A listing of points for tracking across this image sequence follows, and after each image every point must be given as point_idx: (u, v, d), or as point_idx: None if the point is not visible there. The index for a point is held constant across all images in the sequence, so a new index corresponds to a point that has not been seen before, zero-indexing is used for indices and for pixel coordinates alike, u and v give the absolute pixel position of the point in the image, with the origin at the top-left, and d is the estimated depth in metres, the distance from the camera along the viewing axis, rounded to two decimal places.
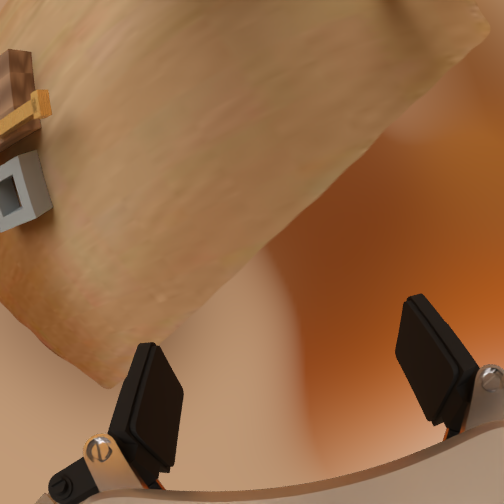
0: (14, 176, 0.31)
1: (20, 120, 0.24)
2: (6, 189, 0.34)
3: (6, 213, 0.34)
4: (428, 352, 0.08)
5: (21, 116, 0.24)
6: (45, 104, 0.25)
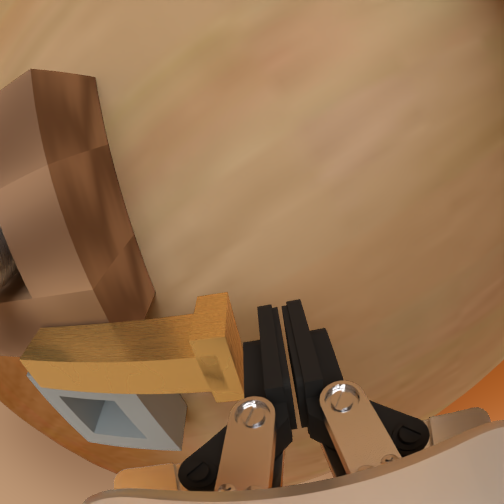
0: (120, 404, 0.17)
1: (151, 391, 0.10)
2: None
3: (95, 422, 0.20)
4: (290, 358, 0.09)
5: (152, 385, 0.10)
6: (238, 351, 0.11)
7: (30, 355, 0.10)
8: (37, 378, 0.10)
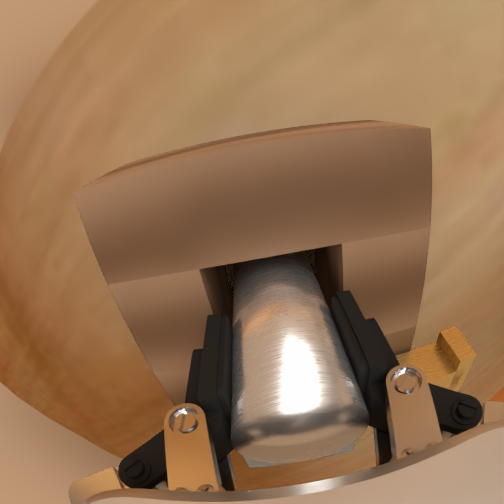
0: None
1: None
2: None
3: None
4: (347, 347, 0.09)
5: None
6: None
7: None
8: None
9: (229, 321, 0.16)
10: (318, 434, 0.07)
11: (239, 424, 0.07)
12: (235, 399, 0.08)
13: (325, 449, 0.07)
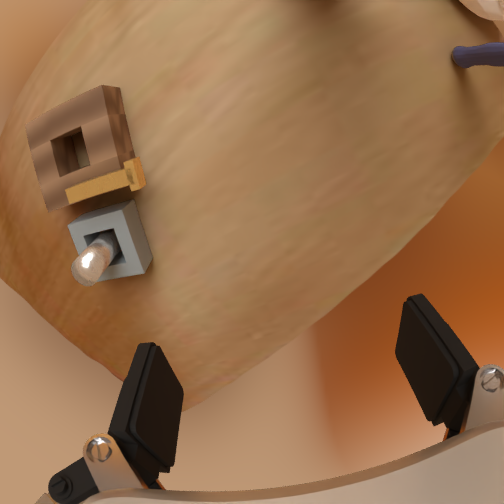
0: (116, 230, 0.38)
1: (111, 189, 0.32)
2: (94, 237, 0.41)
3: None
4: (428, 352, 0.08)
5: (112, 185, 0.31)
6: (140, 174, 0.32)
7: (70, 187, 0.31)
8: (69, 198, 0.32)
9: (68, 169, 0.35)
10: (86, 271, 0.33)
11: None
12: None
13: (91, 280, 0.33)
